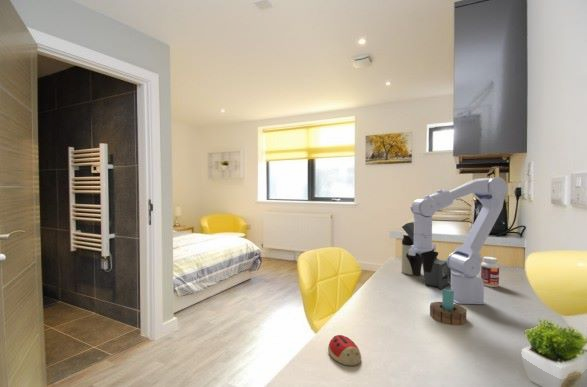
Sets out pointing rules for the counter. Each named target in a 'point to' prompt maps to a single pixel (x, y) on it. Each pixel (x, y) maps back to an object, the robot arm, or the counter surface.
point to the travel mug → (405, 250)
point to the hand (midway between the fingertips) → (422, 273)
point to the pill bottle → (490, 272)
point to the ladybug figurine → (344, 350)
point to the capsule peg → (448, 300)
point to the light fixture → (440, 269)
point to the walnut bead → (448, 314)
